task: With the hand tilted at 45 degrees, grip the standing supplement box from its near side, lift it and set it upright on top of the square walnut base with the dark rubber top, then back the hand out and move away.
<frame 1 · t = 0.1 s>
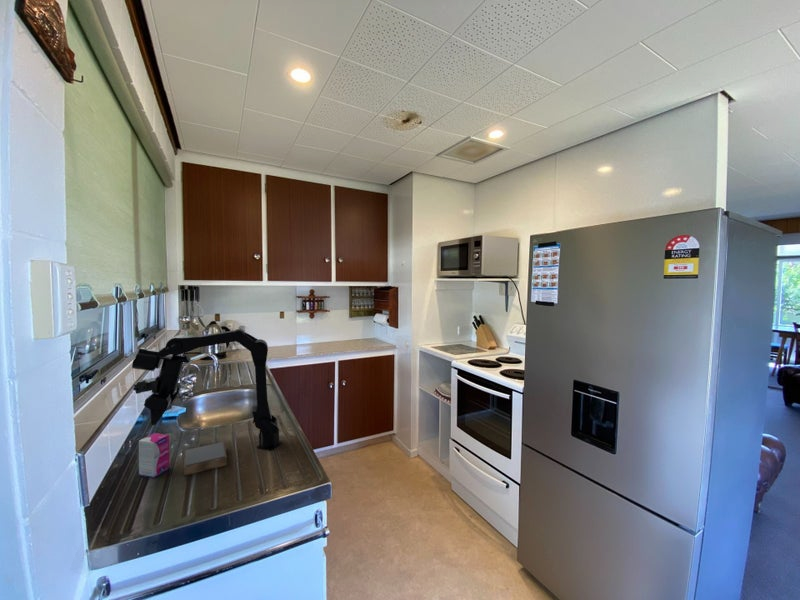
hand: (157, 419, 110), 15 cm above the countertop, tool pointing down, fingers open, 9 cm apart
walnut base: (205, 461, 113), on the countertop
supplement box: (154, 472, 106), on the countertop
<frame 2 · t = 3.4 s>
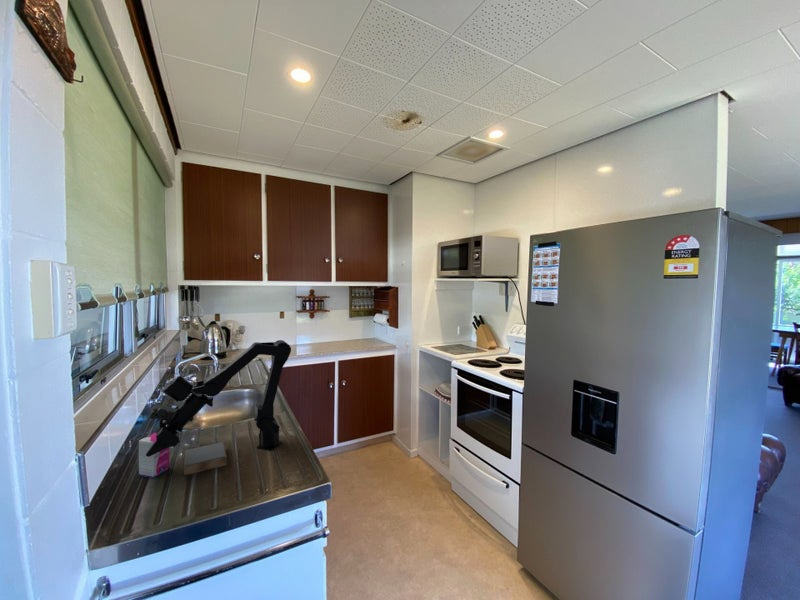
hand: (148, 450, 105), 8 cm above the countertop, tool tilted 45°, fingers closed on supplement box, 8 cm apart
supplement box: (154, 472, 106), on the countertop, touching gripper
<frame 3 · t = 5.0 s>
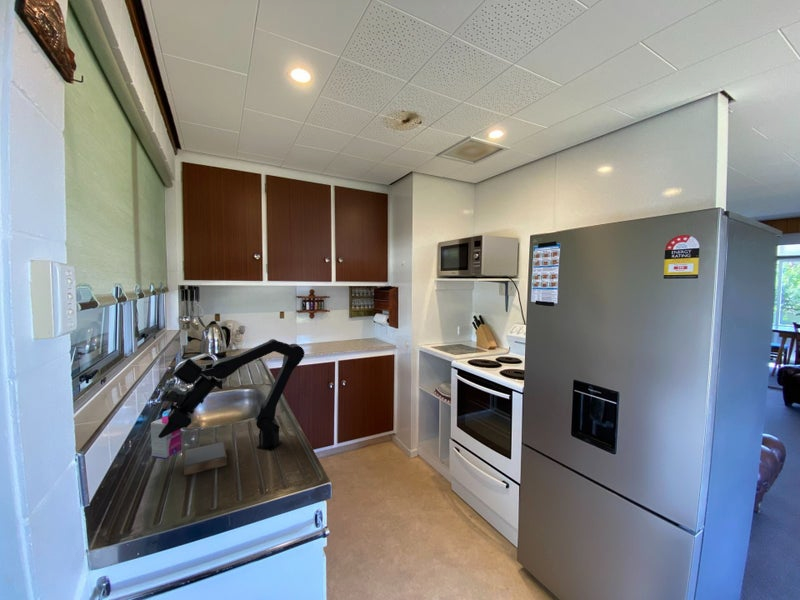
hand: (160, 432, 106), 13 cm above the countertop, tool tilted 45°, fingers closed on supplement box, 8 cm apart
supplement box: (167, 454, 108), point 5 cm above the countertop, touching gripper
when the fingers open (12 cm above the countertop, at t = 6.7 s): supplement box drops 1 cm, resting on walnut base.
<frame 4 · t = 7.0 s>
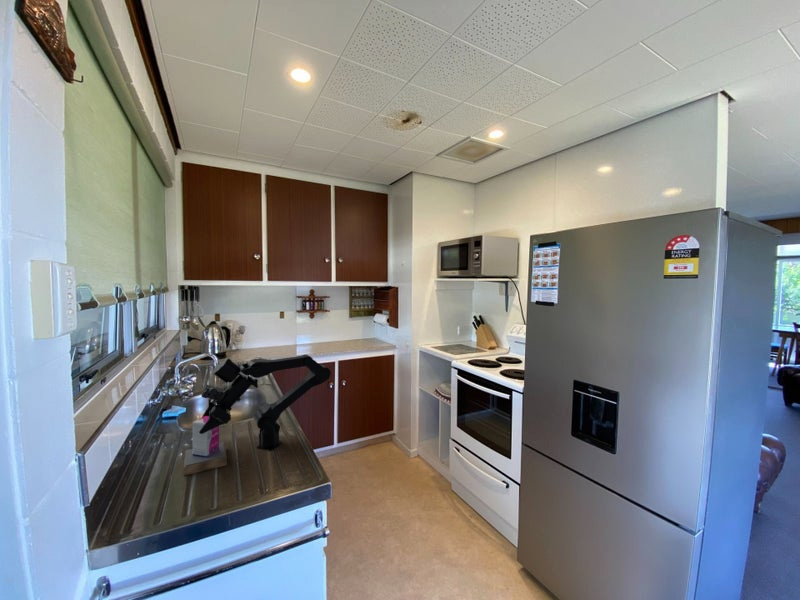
hand: (200, 427, 111), 12 cm above the countertop, tool tilted 45°, fingers open, 9 cm apart
supplement box: (206, 453, 113), point 3 cm above the countertop, touching walnut base
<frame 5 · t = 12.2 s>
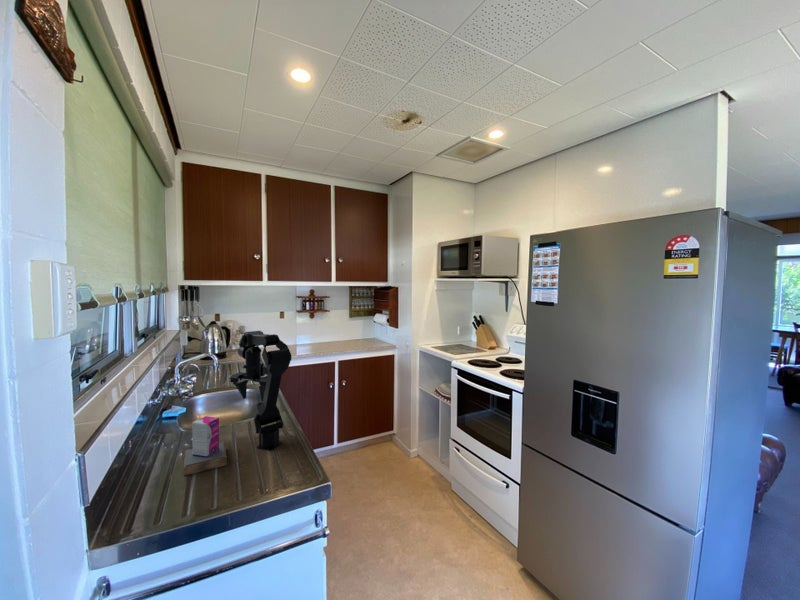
hand: (253, 399, 135), 13 cm above the countertop, tool pointing down, fingers open, 9 cm apart
nothing on the countertop moved.
at the end: supplement box 0.2 cm off-centre on the walnut base, point 2.8 cm above the walnut base's base; supplement box tilted 0°; the gripper is holding nothing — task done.
